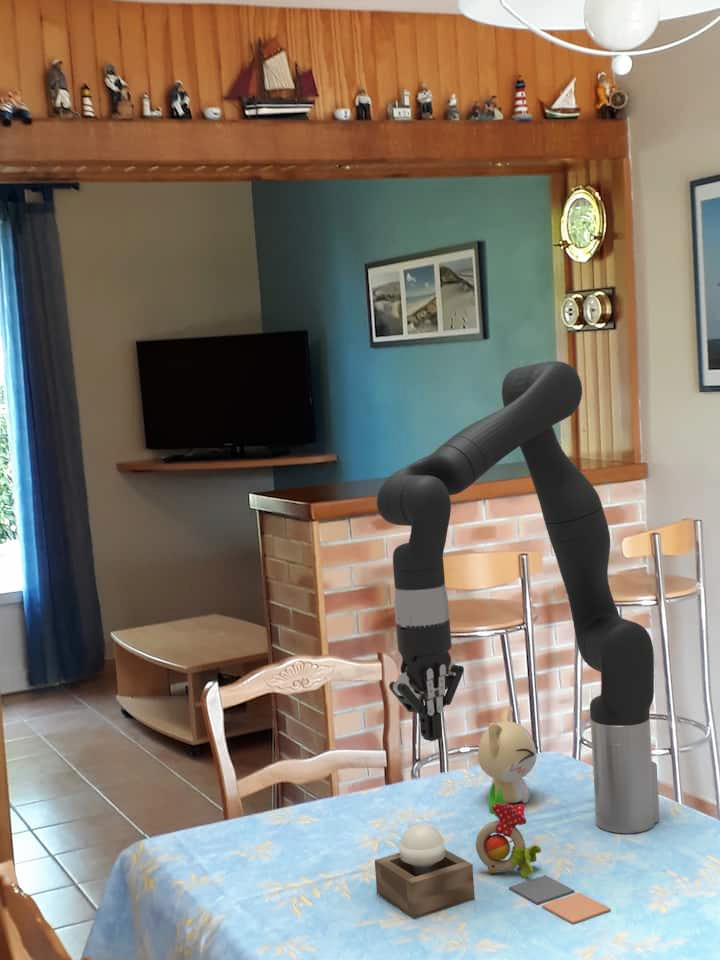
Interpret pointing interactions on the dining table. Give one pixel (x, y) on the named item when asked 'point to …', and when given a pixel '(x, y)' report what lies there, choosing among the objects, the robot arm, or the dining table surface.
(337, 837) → the dining table surface
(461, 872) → the button frame
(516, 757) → the kitten
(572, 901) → the tile
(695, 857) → the dining table surface
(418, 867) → the dome button
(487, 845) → the bird rattle
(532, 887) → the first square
